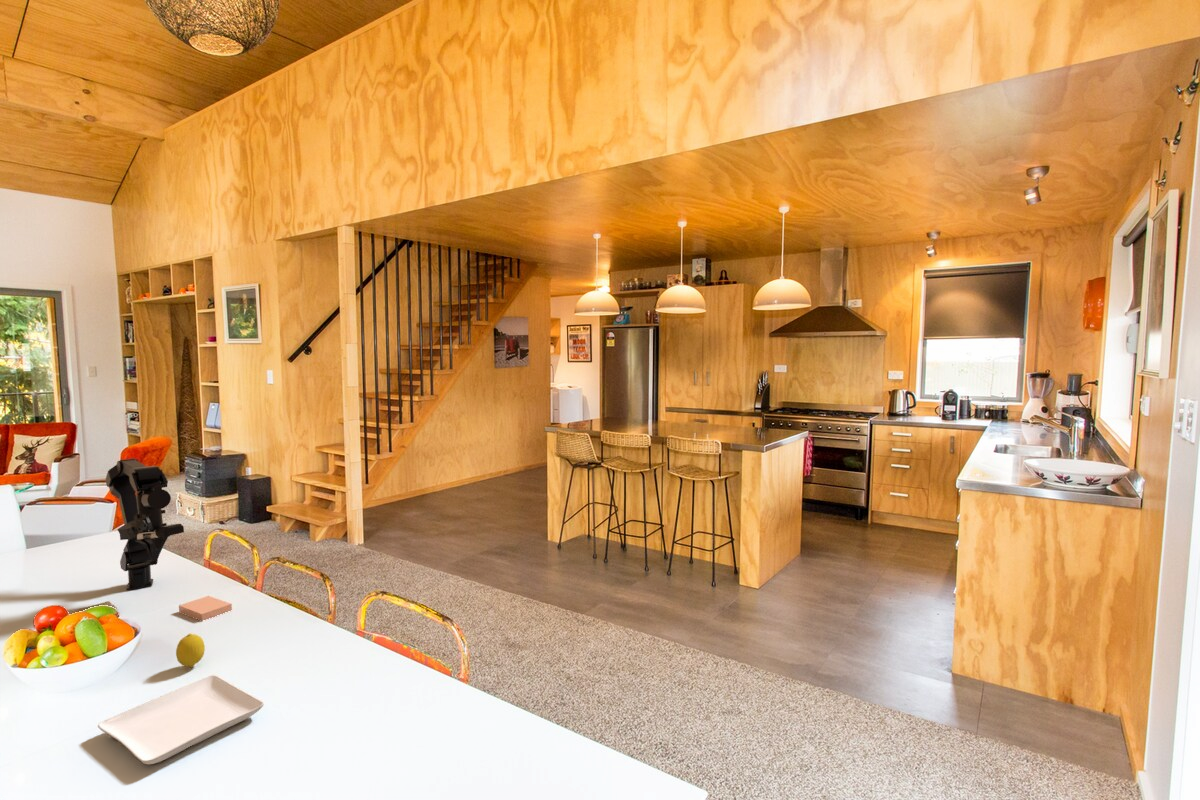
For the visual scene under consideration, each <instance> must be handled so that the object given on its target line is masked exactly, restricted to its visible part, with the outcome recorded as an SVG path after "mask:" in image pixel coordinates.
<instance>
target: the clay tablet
mask: <svg viewBox="0 0 1200 800" xmlns="http://www.w3.org/2000/svg"><path fill="white" fill-rule="evenodd" d="M99 605H108V606H112V607H114V608H116V609H117V610H118V608H117V607H116V606H115V604H112V602H111V601H110V600H109V601H105V602H100V603H97V604H92V605H89V606H84V607H81V608H77V609H72V610H67V611H68V612H69V614H72V613H75V612H79V611H83V610H85V609H88V608H90V607H94V606H99Z"/></svg>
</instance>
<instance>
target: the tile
mask: <svg viewBox="0 0 1200 800" xmlns="http://www.w3.org/2000/svg"><path fill="white" fill-rule="evenodd" d="M232 605H233V604H232V603H230V602H227V601H225V600H221V599H220V598H219V599H218V598H216V597H213V596H210V595H207V596H204V597H200V598H197V599H193V600H191V601H187V602H185V603H182V604H179V605H178V613H179V612H181V613H180V614H182V613H184V614H186V615H185V616H187V615H189V616H188V617H190V616H191V617H190V618H192V617H194V618H193V619H195V618H197V619H199V620H198V621H200V620H201V621H200V622H204V621H203V620H205V621H207V620H206V619H208V620H210V619H213V618H216V617H218V616H217V615H219V616H221V615H220V614H222V615H224V614H226V613H225V612H227V613H229V612H228V611H230V612H232V611H233V606H232ZM231 610H232V611H231ZM223 613H224V614H223ZM184 614H183V615H184ZM215 616H216V617H215ZM212 617H213V618H212ZM209 618H210V619H209ZM197 619H196V620H197Z"/></svg>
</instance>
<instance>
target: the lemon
mask: <svg viewBox="0 0 1200 800" xmlns="http://www.w3.org/2000/svg"><path fill="white" fill-rule="evenodd" d="M205 647H206V646H205V642H204V640H203V638H202V637H201V636H200V635H198V634H195V633H187V635H185V636H184V637H182V638H181V639H180V640H179V642H178V643H177V646H176V650H175V656H176V659H177V662H178V663H179V664H180V665H182V666H185V667H188V668H193V667H194V666H195V665H196V664H198V663H199V662H200V661H201V660H202V659H203V657H204V655H205V651H206V649H205Z"/></svg>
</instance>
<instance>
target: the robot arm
mask: <svg viewBox="0 0 1200 800" xmlns="http://www.w3.org/2000/svg"><path fill="white" fill-rule="evenodd" d="M168 481H169V480H168V479H167V477H166V475H165V472H163V470H162V468H161V469H160V467H159V466H158V465H150V466H149V465H148V466H147V465H145V464H144V463H141V462H140V461H139V459H138V458H127V459H120V460H117V462H116V464H115V465H113V467H111V468H109V470H107V473H106V476H105V484H106V487H107V488H108V489H109V492H110V495H112V496H114V497H115V498H116V499H118V503H119V509H120V512H121V515H122V521H123V526H120V527H118V528H117V532H118V533H119V538H120V539H119V540H120V541H125V540H127V541H126V544H125V546H124V548H123V552H122V554H121V558H120V561H119V564H120V569H121V570H123V572H127V578H128V582H127V585H126V589H125V590H126V591H130V590H135V589H136V590H137V589H142V588H143V589H144V588H146V587H148V588H149V587H153V583H154V578H152V575H151V574H152V572H151V566H153V565H154V566H156V565H158V560H159V556H161V555H160V554H161V552H162V550H163V548H164V546H165V544H166V542H167V540H168V538H169V537H171V536H175V535H179V534H184V533H185V527H184V526H185V525H183V524H181V523H173V524H172V523H171V524H167V522H165V523H164V521H163V520H164V519H163V514H166V509H164V508H166V507H167V506H169V504H170V503H171V500H172V497H171V494H170V493H169V492H168V490H165V489H164V488H168V483H169V482H168Z"/></svg>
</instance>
